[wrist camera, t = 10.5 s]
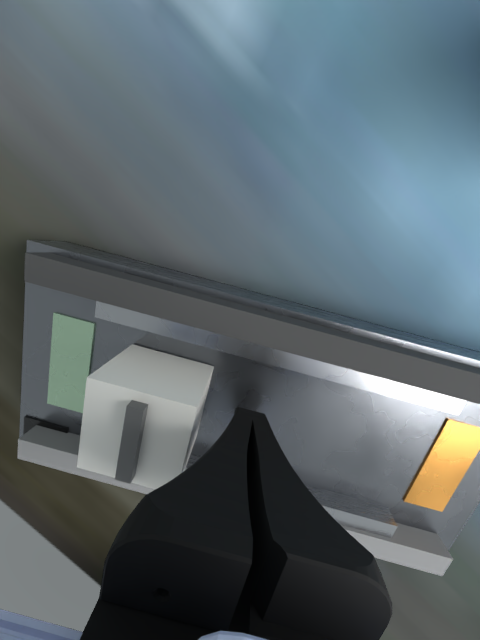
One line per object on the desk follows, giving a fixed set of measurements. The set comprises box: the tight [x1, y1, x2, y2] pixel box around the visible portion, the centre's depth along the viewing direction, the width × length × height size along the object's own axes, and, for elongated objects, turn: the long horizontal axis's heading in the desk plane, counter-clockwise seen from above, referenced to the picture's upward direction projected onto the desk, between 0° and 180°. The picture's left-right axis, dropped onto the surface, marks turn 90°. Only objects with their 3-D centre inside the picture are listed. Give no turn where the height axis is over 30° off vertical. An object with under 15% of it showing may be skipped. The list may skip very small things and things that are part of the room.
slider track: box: [19, 240, 480, 551], centre depth 14 cm, size 11×24×4 cm, turn 76°
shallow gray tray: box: [18, 252, 480, 576], centre depth 13 cm, size 10×22×1 cm, turn 76°
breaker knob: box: [77, 344, 214, 489], centre depth 11 cm, size 4×4×4 cm
